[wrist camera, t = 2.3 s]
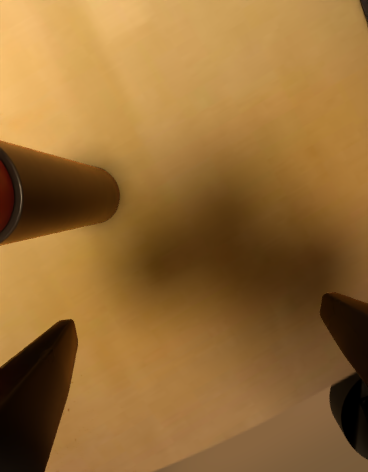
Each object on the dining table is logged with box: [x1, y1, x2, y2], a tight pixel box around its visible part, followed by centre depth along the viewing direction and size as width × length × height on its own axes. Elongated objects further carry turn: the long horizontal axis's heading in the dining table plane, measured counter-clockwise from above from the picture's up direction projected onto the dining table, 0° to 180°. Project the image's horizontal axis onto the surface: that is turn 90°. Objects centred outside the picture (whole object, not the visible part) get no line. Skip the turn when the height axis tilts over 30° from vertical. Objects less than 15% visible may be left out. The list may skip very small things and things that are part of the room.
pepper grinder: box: [0, 140, 120, 246], centre depth 14 cm, size 5×5×13 cm
